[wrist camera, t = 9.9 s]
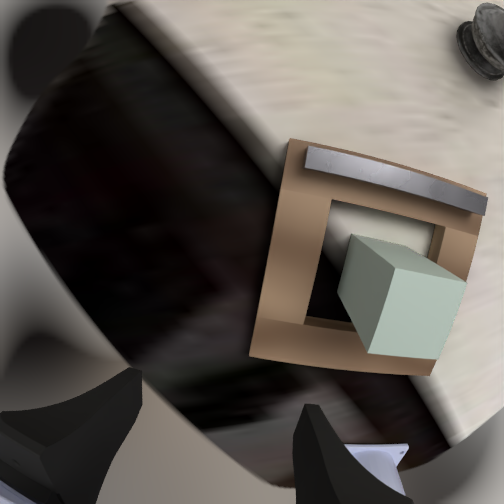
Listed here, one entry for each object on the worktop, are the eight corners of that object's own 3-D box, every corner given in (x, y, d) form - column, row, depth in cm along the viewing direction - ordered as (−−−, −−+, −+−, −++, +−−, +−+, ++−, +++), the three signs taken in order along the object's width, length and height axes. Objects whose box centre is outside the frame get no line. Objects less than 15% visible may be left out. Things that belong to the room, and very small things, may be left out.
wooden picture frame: (422, 365, 22) (429, 375, 20) (250, 345, 22) (248, 356, 21) (475, 192, 18) (486, 193, 17) (288, 141, 19) (289, 138, 17)
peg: (389, 300, 21) (437, 359, 13) (337, 291, 21) (367, 353, 13) (405, 245, 20) (467, 282, 12) (351, 233, 20) (395, 268, 12)
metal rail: (472, 213, 17) (484, 215, 16) (302, 168, 18) (304, 167, 16) (475, 195, 17) (487, 197, 16) (305, 148, 17) (308, 145, 16)
